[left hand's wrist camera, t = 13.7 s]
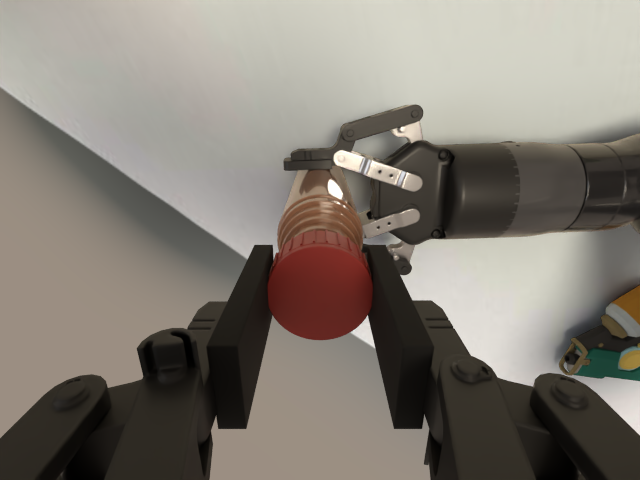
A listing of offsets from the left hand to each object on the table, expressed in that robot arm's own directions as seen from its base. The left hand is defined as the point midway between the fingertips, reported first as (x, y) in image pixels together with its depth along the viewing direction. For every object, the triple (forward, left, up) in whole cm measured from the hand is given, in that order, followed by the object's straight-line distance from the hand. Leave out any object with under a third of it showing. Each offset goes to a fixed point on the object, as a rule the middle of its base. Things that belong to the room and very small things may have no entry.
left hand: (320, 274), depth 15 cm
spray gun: (+41, +9, -21) cm, 47 cm away
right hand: (-2, -2, -14) cm, 14 cm away
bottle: (0, 0, -21) cm, 21 cm away
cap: (0, 0, +2) cm, 2 cm away
